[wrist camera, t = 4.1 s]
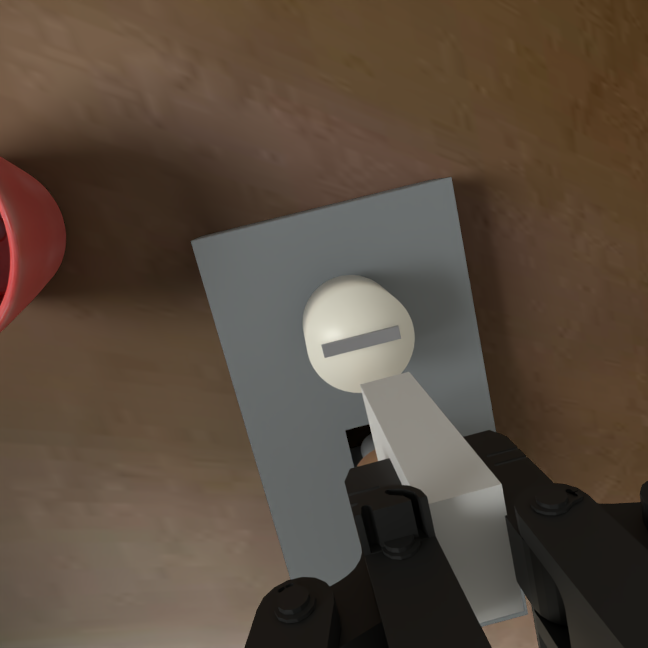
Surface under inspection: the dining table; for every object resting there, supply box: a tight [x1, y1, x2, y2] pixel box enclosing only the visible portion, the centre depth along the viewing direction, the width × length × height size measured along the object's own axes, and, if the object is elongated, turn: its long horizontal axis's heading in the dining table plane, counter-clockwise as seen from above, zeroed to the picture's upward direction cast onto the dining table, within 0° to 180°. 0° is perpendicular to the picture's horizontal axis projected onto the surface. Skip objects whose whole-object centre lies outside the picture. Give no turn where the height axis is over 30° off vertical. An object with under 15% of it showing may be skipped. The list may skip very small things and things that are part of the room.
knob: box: [302, 275, 415, 393], centre depth 28 cm, size 5×5×8 cm
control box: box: [191, 177, 528, 627], centre depth 33 cm, size 14×28×4 cm, turn 13°
